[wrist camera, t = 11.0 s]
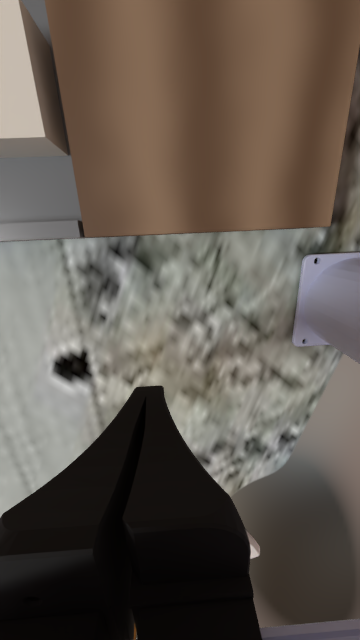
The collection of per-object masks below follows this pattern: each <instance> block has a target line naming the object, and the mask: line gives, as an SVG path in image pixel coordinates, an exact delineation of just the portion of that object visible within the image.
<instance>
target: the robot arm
mask: <svg viewBox="0 0 360 640" xmlns="http://www.w3.org/2000/svg"><path fill="white" fill-rule="evenodd" d="M316 258H317V260H318V261H317V262H316V263H314V260H315V259H316ZM303 339H305V341H304V342H302V340H303ZM292 343H293V344H294V345H295V346H315V345H332V346H333V347H335V348H337V349H338V350H340V351H341V352H343V353H344V354H346V355H347V356H349V357H350V358H352V359H353V360H355V361H356V362H358V363H359V364H360V252H352V253H331V254H310V255H307V256H305V257H304V258H303V261H302V268H301V276H300V284H299V291H298V299H297V306H296V314H295V322H294V329H293V337H292ZM250 555H251V548H250V542H249V538H248V535H247V533H246V530H245V527H244V525H243V523H242V520H241V518H240V516H239V514H238V512H237V509H236V507H235V505H234V503H233V501H232V500H231V498H230V496H229V495H228V494H227V493H226V492H225V491H224V490H223V489H222V488H221V487H220V486H219V485H218V484H217V483H216V481H215V480H214V479H213V478H212V477H211V476H210V475H209V474H208V472H207V471H206V470H205V469H204V468H203V466H202V465H201V464H200V462H199V461H198V460H197V458H196V457H195V456H194V455H193V453H192V452H191V450H190V449H189V447H188V446H187V444H186V443H185V441H184V440H183V438H182V436H181V435H180V433H179V431H178V429H177V427H176V425H175V423H174V421H173V419H172V417H171V415H170V412H169V409H168V407H167V404H166V401H165V397H164V388H163V387H162V386H147V387H136V388H135V389H134V391H133V393H132V394H131V396H130V397H129V399H128V400H127V402H126V403H125V405H124V406H123V407H122V409H121V410H120V411H119V413H118V414H117V416H116V417H115V418H114V419H113V421H112V422H111V423H110V424H109V425H108V427H107V428H106V429H105V430H104V431H103V433H102V434H101V435H100V436H99V437H98V438H97V439H96V440H95V441H94V442H93V443H92V444H91V445H90V446H89V447H88V448H87V449H86V450H85V451H84V452H83V453H82V454H81V455H80V456H79V457H78V458H77V459H76V460H75V461H73V462H72V463H71V464H70V465H69V466H68V467H67V468H65V469H64V470H63V471H62V472H61V473H59V474H58V475H57V476H56V477H54V478H53V479H52V480H50V481H49V482H48V483H46V484H45V485H44V486H42V487H41V488H40V489H38V490H37V491H36V492H34V493H33V494H31V495H30V496H28V497H27V498H25V499H24V500H22V501H21V502H20V503H18V504H17V505H15V506H14V507H12V508H11V509H9V510H8V511H6V512H5V513H3V515H2V516H1V518H0V640H134V624H135V627H136V631H137V636H138V638H137V639H135V640H360V619H352V620H342V621H331V622H320V623H309V624H298V625H287V626H278V627H265V628H259V624H258V619H257V615H256V611H255V606H254V602H253V589H252V585H251V580H250V577H249V565H250Z"/></svg>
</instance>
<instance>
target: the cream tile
mask: <svg viewBox="0 0 360 640" xmlns="http://www.w3.org/2000/svg"><path fill="white" fill-rule="evenodd" d="M44 156H68V152H67V146H66V140H65V135H64V129H63V123H62V117H61V111H60V106H59V100H58V94H57V88H56V82H55V77H54V71H53V65H52V59H51V54H50V48H49V44H48V42H47V41H46V39H45V38H44V36H43V34H42V33H41V31H40V30H39V28H38V26H37V25H36V23H35V21H34V20H33V18H32V17H31V15H30V13H29V12H28V10H27V9H26V7H25V5H24V4H23V2H22V1H21V0H0V158H14V157H44Z"/></svg>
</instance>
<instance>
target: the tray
mask: <svg viewBox="0 0 360 640" xmlns="http://www.w3.org/2000/svg"><path fill="white" fill-rule="evenodd" d="M21 1H22V2H23V4H24V5H25V7H26V9H27V10H28V12H29V13H30V15H31V17H32V18H33V20H34V21H35V23H36V25H37V26H38V28H39V30H40V31H41V33H42V34H43V36H44V38H45V39H46V41H47V42H48V44H49V48H50V54H51V59H52V65H53V71H54V77H55V82H56V88H57V94H58V100H59V106H60V111H61V117H62V123H63V129H64V135H65V140H66V146H67V152H68V156H44V157H14V158H0V242H6V241H29V240H51V239H73V238H94V237H85V235H84V229H83V223H82V217H81V211H80V205H79V200H78V194H77V188H76V182H75V176H74V170H73V164H72V158H71V153H70V147H69V141H68V135H67V129H66V123H65V117H64V112H63V106H62V100H61V94H60V88H59V82H58V76H57V70H56V65H55V59H54V53H53V47H52V41H51V35H50V29H49V23H48V18H47V12H46V6H45V0H21Z"/></svg>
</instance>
